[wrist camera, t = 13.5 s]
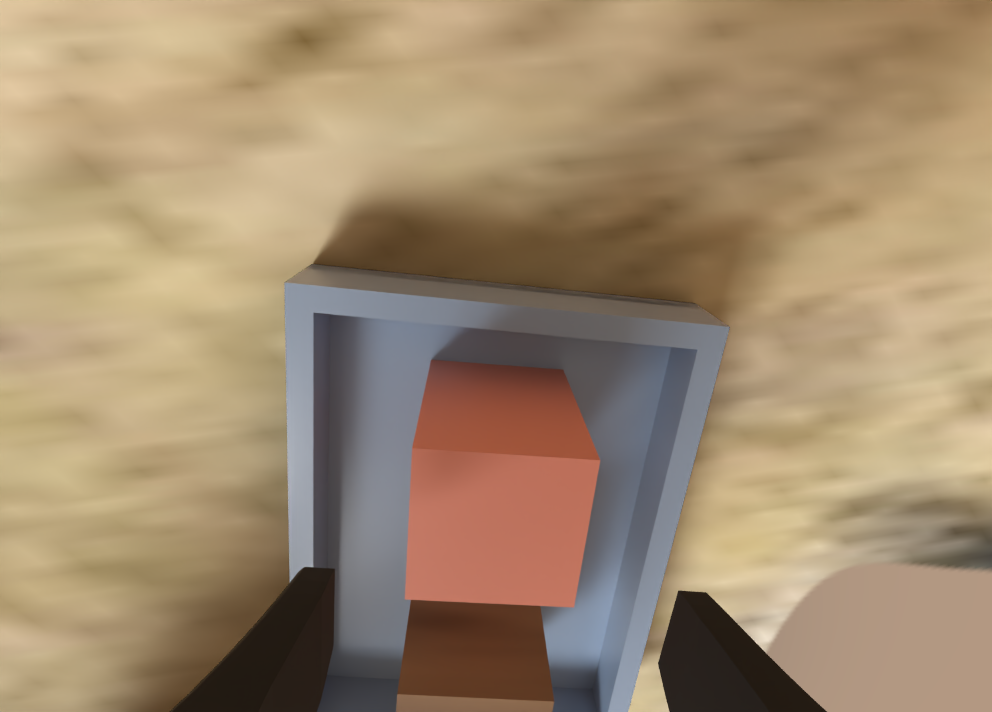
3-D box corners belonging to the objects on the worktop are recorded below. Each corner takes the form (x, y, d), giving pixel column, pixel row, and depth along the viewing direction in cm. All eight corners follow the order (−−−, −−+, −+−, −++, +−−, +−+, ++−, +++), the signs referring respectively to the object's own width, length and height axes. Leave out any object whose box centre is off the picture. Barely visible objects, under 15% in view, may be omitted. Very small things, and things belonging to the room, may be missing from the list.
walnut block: (519, 646, 23) (533, 805, 18) (411, 641, 23) (390, 800, 17) (533, 559, 22) (554, 701, 16) (417, 551, 21) (397, 694, 16)
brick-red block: (546, 482, 20) (573, 607, 15) (424, 475, 20) (404, 599, 15) (563, 369, 19) (600, 460, 13) (430, 359, 19) (412, 448, 13)
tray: (603, 687, 25) (618, 749, 23) (311, 672, 24) (292, 734, 22) (695, 303, 19) (729, 326, 17) (311, 264, 18) (284, 282, 16)
